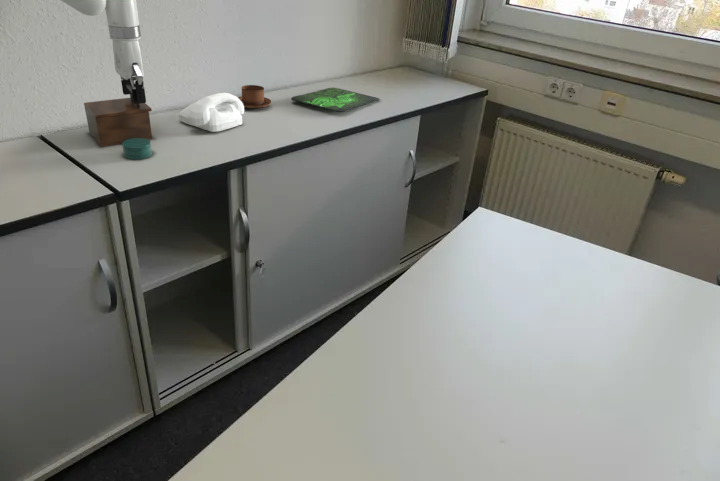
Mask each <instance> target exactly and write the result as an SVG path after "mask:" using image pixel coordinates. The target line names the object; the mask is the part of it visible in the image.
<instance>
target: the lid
mask: <svg viewBox="0 0 720 481" xmlns="http://www.w3.org/2000/svg"><path fill="white" fill-rule="evenodd" d="M126 88H127V89H128V90H129V92H130V94H129V97H123V98H114V99H105V100H97V101H87V102H83V105H84V106H85V107H86V108H87V109H88V110H89V111H90V112H91V114H92V115H93V116H94V117H95V118H102V117H110V116H118V115H125V114H133V113H141V112H149V113H150V112H152V110H153V109H152V107H150V105H148V104H147V102H146V103H141V104H134V103H133V96H132V89H133V87H132V84H131V83H127V84H126ZM85 107H84V108H85Z"/></svg>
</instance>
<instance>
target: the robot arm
mask: <svg viewBox="0 0 720 481" xmlns="http://www.w3.org/2000/svg"><path fill="white" fill-rule="evenodd" d="M60 1H61V2H63V3H64V4H66V5H68V6H69V7H71V8H72V9H74V10H76V11H77V12H79V13H81V14H82V15H85V16H88V17H89V16H90V17H93V16H98V15H100V14H101V13H103V12H104V11H105V15H106V21H107V28H108V35H109V39H110V40H112V51H113V61H114V69H115V72H116V74H117V75H119V76H120V84H121V88H122V89H121V90H122V94H123V95H124V96H126V95H130V92H129V90H128V89H127V88H126V84H127V83H131V84H132V87H133V89H132V96H133V103H134V104H141V103H146V104H147V99H146V98H147V97H146V90H145V89H146V88H145V84H144V76H145V74H144V73H145V72H144V65H143V64H144V63H143V58H142V53H141V52H142V51H141V47H140V43H139V40H141V39H142V34H141V26H140V19H139V10H138V4H137V0H60Z"/></svg>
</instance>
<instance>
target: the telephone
mask: <svg viewBox="0 0 720 481" xmlns="http://www.w3.org/2000/svg"><path fill="white" fill-rule="evenodd" d="M244 113H245V107H244V105H243V103H242V102H241V101H240V100H239V99H238V96H236V95H234V94H231V93H229V92H218V93H213V94H210V95H207V96H203V97H202V98H200V99H197V100H195V101H193V102H192V103H190V104H189V105H187V106H186V107H185V108H183V109H181V111H180V112H179V115H178V116H179V122H182V123H185V124H187V125H189V126H193V127H196V128H199V129H201V130H205V131H208V132H211V133H218V132H222V131H225V130H229V129H232V128H236V127H239V126H241V125H242V124H243V116H242V115H244Z"/></svg>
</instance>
